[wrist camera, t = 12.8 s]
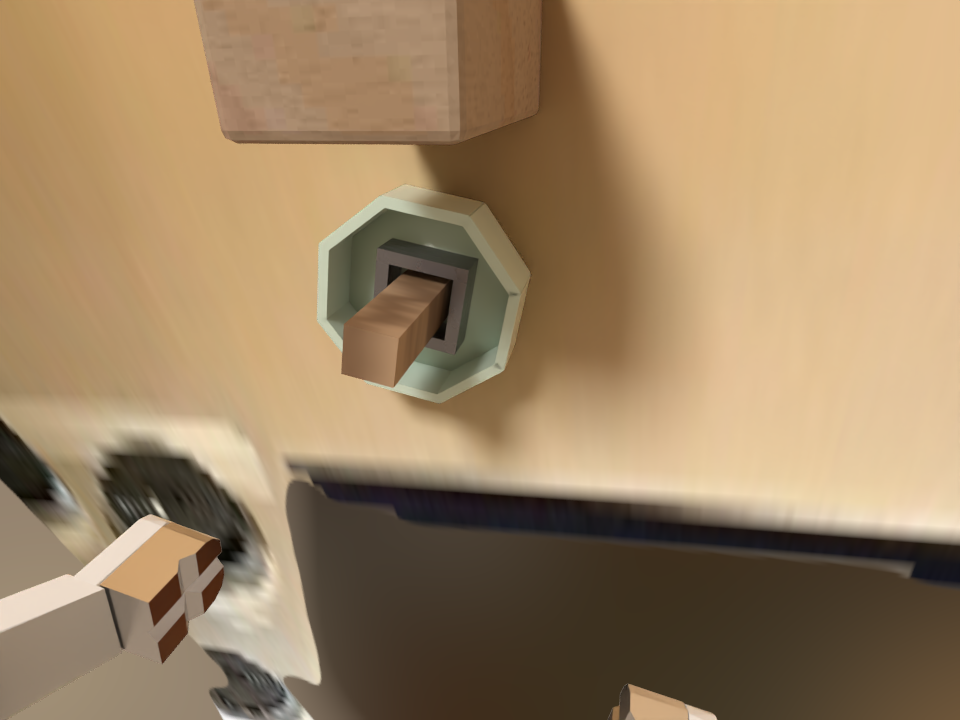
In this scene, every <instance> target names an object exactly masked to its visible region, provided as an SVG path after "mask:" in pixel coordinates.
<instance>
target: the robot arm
mask: <svg viewBox="0 0 960 720" xmlns="http://www.w3.org/2000/svg"><path fill="white" fill-rule="evenodd" d="M221 552H222V549H221V543H220V540H219V539H217V538H214V537H211V536H208V535H206V534H203V533H200V532H197V531H195V530H192V529H189V528H186V527H184V526H181V525H178V524H176V523H174V522H171V521H168V520H165V519H163V518H160V517H157V516H154V515H151V514H150V515H148V516H146V517H143V518H141V519H139V520H138V521H137V522H136V523H135V524H134V525H132V526H131V527H130V528H129V529H128V530H127V531H125V532H124V533H123V534H122V535H121V536H120V537H119V538H117V539H116V540H115V541H114V542H113V543H112V544H111V545H109V546H108V547H107V548H106V549H105V550H104V551H102V552H101V553H100V554H99V555H98V556H97V557H96V558H94V559H93V560H92V561H91V562H90V563H89V564H87V565H86V566H85V567H84V568H83V569H82V570H81V571H79V573H77V574H76V575H75V576H72V575H69V574H66V575H63V576H61V577H58V578H56V579H53V580H51V581H48V582H45V583H42V584H40V585H37V586H34V587H32V588H29V589H26V590H24V591H21V592H19V593H16V594H14V595H11V596H8V597H6V598H3V599H0V720H7V719H9V718H11V717H12V716H14V715H16V714H18V713H19V712H21V711H23V710H25V709H26V708H28V707H30V706H31V705H33V704H35V703H37V702H38V701H40V700H42V699H44V698H45V697H47V696H49V695H50V694H52V693H54V692H56V691H57V690H59V689H61V688H62V687H64V686H66V685H68V684H69V683H71V682H73V681H75V680H76V679H78V678H80V677H81V676H83V675H85V674H87V673H88V672H90V671H92V670H94V669H95V668H97V667H99V666H100V665H102V664H104V663H106V662H107V661H109V660H111V659H112V658H114V657H116V656H118V655H119V654H121V653H122V650H124V651H127V652H130V653H132V654H135V655H138V656H140V657H143V658H146V659H149V660H151V661H154V662H157V663H160V664H163V663H164V662H165V660H166V659H167V658H168V657H169V656H170V654H171V653H172V652H173V651H174V650H175V648H176V647H177V645H179V643H180V642H181V641H182V640H183V639H184V637H185V636H186V635H187V634H188V627H189V620H191V619H194V618H196V617H198V616H200V615H202V614H204V613H205V612H206V611H207V609H208V608H209V607H210V606H211V604H212V603H213V602H214V600H215V599H216V597H217V595H218V593H219V591H220V589H221V587H222V583H223V579H224V566H223V565H222V564H221V562H220V561H219V560H218V558H217V556H218V555H219V554H220V553H221ZM608 720H717V718H716V716H715V715H714V714H712V713H711V712H707V711H705V710H702V709H699V708H696V707H693V706H690V705H687V704H684V703H683V702H681V701H678V700H675V699H672V698H669V697H666V696H663V695H660V694H657V693H654V692H651V691H648V690H645V689H642V688H639V687H636V686H633V685H630V684H627V685H625V686H624V688H623V689H622V691H621V693H620V706H617V707H614V708H613V709H612V711H611V714H610V716H609V718H608Z"/></svg>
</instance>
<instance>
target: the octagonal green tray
mask: <svg viewBox="0 0 960 720" xmlns="http://www.w3.org/2000/svg"><path fill="white" fill-rule="evenodd" d="M391 238H395V239H399V240H403V241H408V242H412V243H416V244H420V245H424V246H428V247H432V248H437V249H441V250H445V251H449V252H453V253H457V254H461V255H466V256H470V257H474V258H478V259H479V260H478V265H477V271H476V277H475V283H474V289H473V294H472V300H471V306H470V312H469V318H468V323H467V329H466V335H465V340H464V341H463V343H462V345H461V346H460V348H459V349H458V351H457V353H456V354H455V355H452V354H449V353H445V352H441V351H437V350H434V349H430V348H426V347H424V349H423V350H422V351H421V353H420V354H419V355H418V356H417V358H416V359H415V360H414V362H413V363H412V364H411V366H410V367H409V368H408V370H407V371H406V372H405V374H404V375H403V376H402V378H401V379H400V380H399V382H398V383H397V384H396V386H395V387H394V388H391V387H388V386H384V385H381V384H377V383H373V382H370V381H366V380H364V381H365V382H366V383H367V384H370V385H374V386H377V387H381V388H385V389H388V390H392V391H395V392H399V393H403V394H406V395H410V396H413V397H417V398H420V399H424V400H428V401H431V402H435V403H438V404H439V403H440V404H441V403H443V402H445V401H446V400H448V399H450V398H452V397H454V396H456V395H458V394H460V393H462V392H464V391H466V390H468V389H470V388H472V387H474V386H476V385H478V384H479V383H481V382H483V381H485V380H487V379H489V378H491V377H493V376H495V375H497V374H499V373H501V372H503V371H504V370H505V367H506V365H507V363H508V360H509V358H510V355H511V353H512V351H513V348H514V346H515V343H516V338H517V334H518V329H519V325H520V320H521V316H522V311H523V307H524V303H525V298H526V294H527V289H528V285H529V280H530V276H531V274H530V273H531V272H530V271H529V269H528V268H527V266H526V265H525V263H524V262H523V260H522V258H521V257H520V255H519V254H518V252H517V251H516V249H515V248H514V246H513V245H512V243H511V242H510V240H509V238H508V237H507V235H506V234H505V232H504V231H503V229H502V228H501V226H500V225H499V223H498V221H497V220H496V218H495V217H494V215H493V214H492V212H491V211H490V209H489V208H488V206H487V205H486V203H485V204H484V202H481V201H477V200H473V199H468V198H464V197H459V196H455V195H451V194H446V193H442V192H437V191H433V190H429V189H424V188H420V187H415V186H411V185H407V184H404V185H402V186H400V187H397V188H395V189H393V190H391V191H389V192H387V193H385V194H382V195H380V196H379V197H378V198H376V199H375V200H374V201H373V202H371V203H370V204H369V205H367V206H366V207H365V208H364V209H362V210H361V211H360V212H358V213H357V214H356V215H355V216H353V217H352V218H351V219H349V220H348V221H347V222H346V223H344V224H343V225H342V226H340V227H339V228H338V229H337V230H335V231H334V232H333V233H331V234H330V235H329V236H328V237H326V238H325V239H324V240H322V241H321V242H320V243H319V253H318V296H317V320H318V321H317V322H318V323H319V324H320V325H321V327H322V328H323V329H324V330H325V332H326V333H327V334H328V336H329V337H330V338H331V339H332V341H333V342H334V343H335V344H336V346H337V347H338V348H339V349H340V351H341V352H342V351H343V329H344V324H345V323H346V322H347V321H348V320H349V319H350V318H352V317H353V316H354V315H355V314H356V313H357V312H359V311H360V310H361V309H362V308H363V307H364V306H365V305H367V304H368V303H369V302H370V301H371V300H372V299H373V296H374V283H375V270H376V258H377V248H378V247H380V246H381V245H383V244H384V243H385V242H387V241H388V240H390V239H391ZM406 270H407V269H406V268H402V271H401V275H402V274H403V273H404V272H405V271H406ZM453 281H454V280H453ZM452 287H453V286H452ZM451 294H452V292H451ZM450 300H451V299H450ZM449 307H450V306H449ZM447 320H448V317H447V318H446V319H445V321H444V322H443V323H447Z"/></svg>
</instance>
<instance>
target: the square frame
mask: <svg viewBox="0 0 960 720" xmlns="http://www.w3.org/2000/svg"><path fill="white" fill-rule="evenodd" d="M478 260H479V259H478V258H474V257H470V256H466V255H461V254H457V253H453V252H449V251H445V250H441V249H437V248H432V247H428V246H424V245H420V244H416V243H412V242H408V241H403V240H399V239H395V238H391V239H390V240H388V241H387V242H385V243H384V244H383V245H381V246H380V247H378V248H377V258H376V270H375V283H374V296H373V299H374V298H375V297H376V296H377V295H378V294H379V293H381V292H382V291H383V290H384V289H385V288H386V287H388V286H389V285H390V284H391V283H392V282H393V281H395V280H396V279H397V278H398V277H399V276H400V275H401V271H402V268H406V269H410V270H414V271H419V272H423V273H427V274H431V275H435V276H439V277H443V278H447V279H451V280H454V281H453V287H452V294H451V300H450V307H449V313H448V320H447V323H442V325H441V326H440V327H439V329H438V330H437V331H436V333H435V334H434V335H433V337H432V338H431V339H430V341H429V342H428V343H427V345H426V346H425V347H426V348H430V349H434V350H437V351H441V352H445V353H449V354H452V355H455V354H456V353H457V351H458V349H459V348H460V346H461V345H462V343H463V341H464V340H465V335H466V329H467V323H468V318H469V312H470V306H471V300H472V294H473V289H474V283H475V277H476V271H477V265H478Z"/></svg>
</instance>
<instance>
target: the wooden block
mask: <svg viewBox="0 0 960 720" xmlns="http://www.w3.org/2000/svg"><path fill="white" fill-rule="evenodd" d="M194 3H195V8H196V13H197V18H198V22H199V27H200V32H201V36H202V41H203V46H204V51H205V55H206V60H207V65H208V69H209V74H210V79H211V84H212V88H213V93H214V98H215V102H216V107H217V112H218V117H219V121H220V126H221V131H222V132H223V134H224V136H225V138H226V139H229V140H232V141H234V142H236V143H263V144H403V145H455V144H458V143H460V142H463V141H466V140H468V139H471V138H474V137H477V136H479V135H482V134H485V133H487V132H490V131H493V130H495V129H498V128H501V127H504V126H506V125H509V124H512V123H514V122H517V121H520V120H523V119H525V118H528V117H531V116H533V115H535V114H537V112H538V109H539V93H540V60H541V27H542V0H194Z"/></svg>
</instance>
